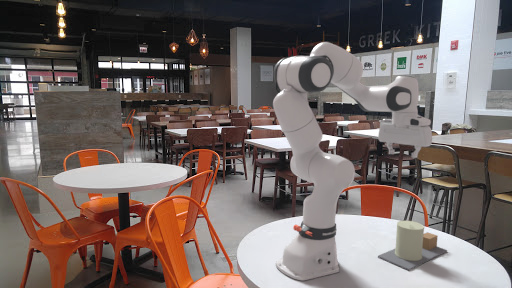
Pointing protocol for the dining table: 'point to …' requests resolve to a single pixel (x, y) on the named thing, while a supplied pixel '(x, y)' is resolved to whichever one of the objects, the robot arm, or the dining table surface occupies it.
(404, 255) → the can
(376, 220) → the dining table surface
